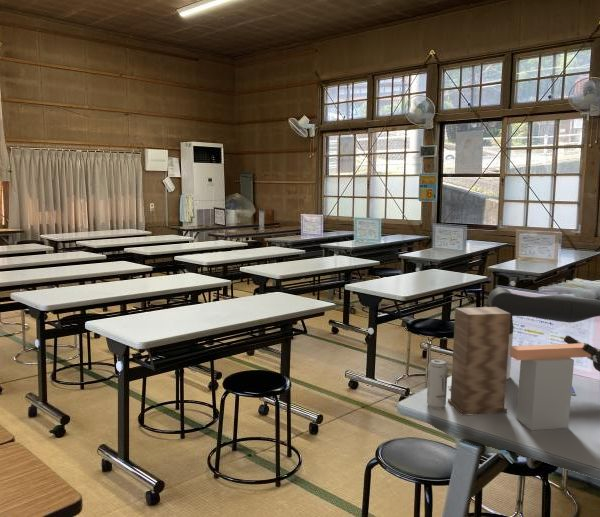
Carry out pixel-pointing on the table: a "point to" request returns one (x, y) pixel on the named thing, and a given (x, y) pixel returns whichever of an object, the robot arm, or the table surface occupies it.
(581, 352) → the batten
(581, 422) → the table surface
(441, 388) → the energy drink can
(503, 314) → the pedestal
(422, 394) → the table surface
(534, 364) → the gray rectangular block
